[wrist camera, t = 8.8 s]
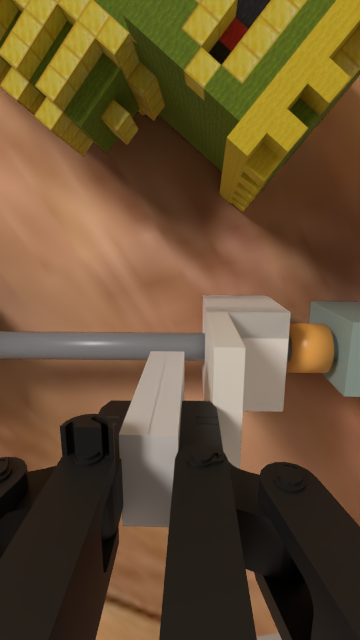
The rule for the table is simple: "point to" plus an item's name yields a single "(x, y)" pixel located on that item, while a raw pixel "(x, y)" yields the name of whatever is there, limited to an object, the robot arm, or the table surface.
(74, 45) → the toy
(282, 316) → the cream l-shaped block
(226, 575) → the robot arm
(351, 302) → the rail
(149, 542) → the table surface
